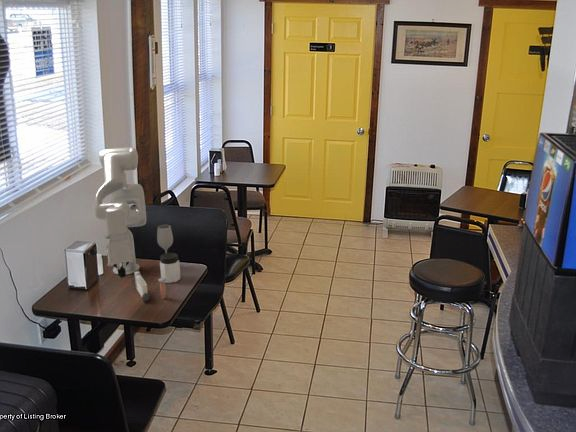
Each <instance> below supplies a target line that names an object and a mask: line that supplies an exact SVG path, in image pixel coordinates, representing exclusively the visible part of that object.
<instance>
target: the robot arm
mask: <svg viewBox="0 0 576 432" xmlns="http://www.w3.org/2000/svg"><path fill="white" fill-rule="evenodd" d="M98 159H99V162H100V164H101V167H102V168H103V174H104V175H103V176H104V177H103V178H104V179H103V180H104V183H103V184H102V185H101V186H100V187H99V189H98V190H97V192H96V194H95V196H94V213H95V218H96V219H97V220H98V221H100V222H105V221H106V226H107V227H106V228H107V234H106V235H104V239H106V240H107V241H106V242H107V243H106V257H107V266H108V267H113V268H112V272H113V273H114V274H115V275H117V276H118V277H120V279H122V278H126V275H131V274H132V275H133V274H135V272H137V271H138V272H139V271H140V265H139V264H137V263H136V262H137V261H136V252H135V243H134V242H135V241H134V236H133V233H132V232H131V230H130V229H129V228H135V227H143V226H145V225H146V223H147V211H146V209H147V208H146V199H145V198H146V197H145V192H144V187H143V186H142V185H141V184H140V183H128V181H127V174H126V171H135V170H136V169H137V168H138V163H139V154H138V151H137V149H136V148H135V147H133V146H132V147H131V146H129V147H114V148H105V149H102V150H100V151H99V153H98ZM107 196H109V200H110V202H103V200H104V199H105V198H106V197H107ZM102 202H103V203H102ZM130 205H135V206H130Z"/></svg>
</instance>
